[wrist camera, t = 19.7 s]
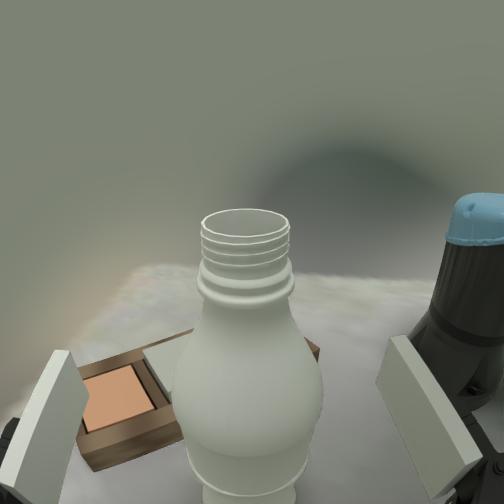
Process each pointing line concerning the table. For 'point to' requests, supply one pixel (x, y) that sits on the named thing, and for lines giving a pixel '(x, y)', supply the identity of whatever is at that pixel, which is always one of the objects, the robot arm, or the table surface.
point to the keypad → (137, 429)
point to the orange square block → (114, 399)
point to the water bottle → (246, 366)
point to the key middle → (164, 362)
